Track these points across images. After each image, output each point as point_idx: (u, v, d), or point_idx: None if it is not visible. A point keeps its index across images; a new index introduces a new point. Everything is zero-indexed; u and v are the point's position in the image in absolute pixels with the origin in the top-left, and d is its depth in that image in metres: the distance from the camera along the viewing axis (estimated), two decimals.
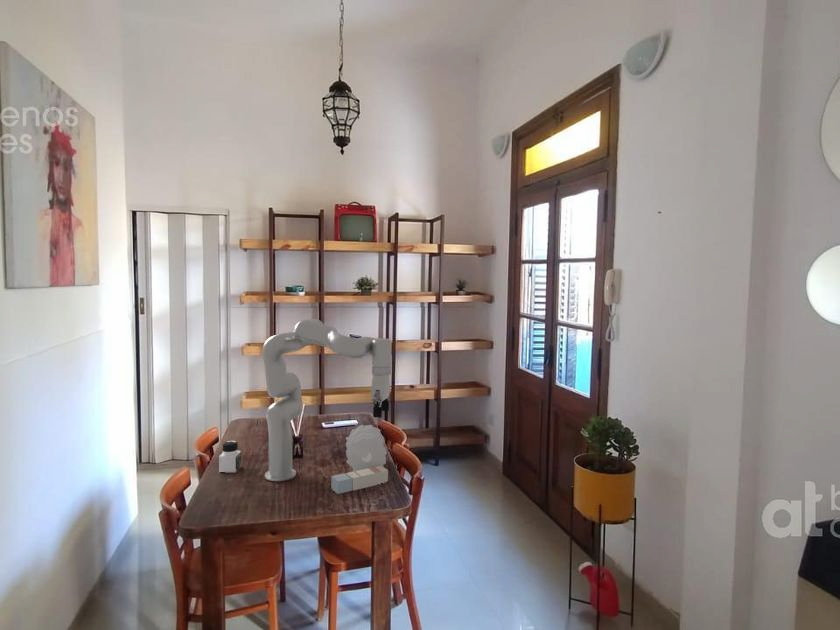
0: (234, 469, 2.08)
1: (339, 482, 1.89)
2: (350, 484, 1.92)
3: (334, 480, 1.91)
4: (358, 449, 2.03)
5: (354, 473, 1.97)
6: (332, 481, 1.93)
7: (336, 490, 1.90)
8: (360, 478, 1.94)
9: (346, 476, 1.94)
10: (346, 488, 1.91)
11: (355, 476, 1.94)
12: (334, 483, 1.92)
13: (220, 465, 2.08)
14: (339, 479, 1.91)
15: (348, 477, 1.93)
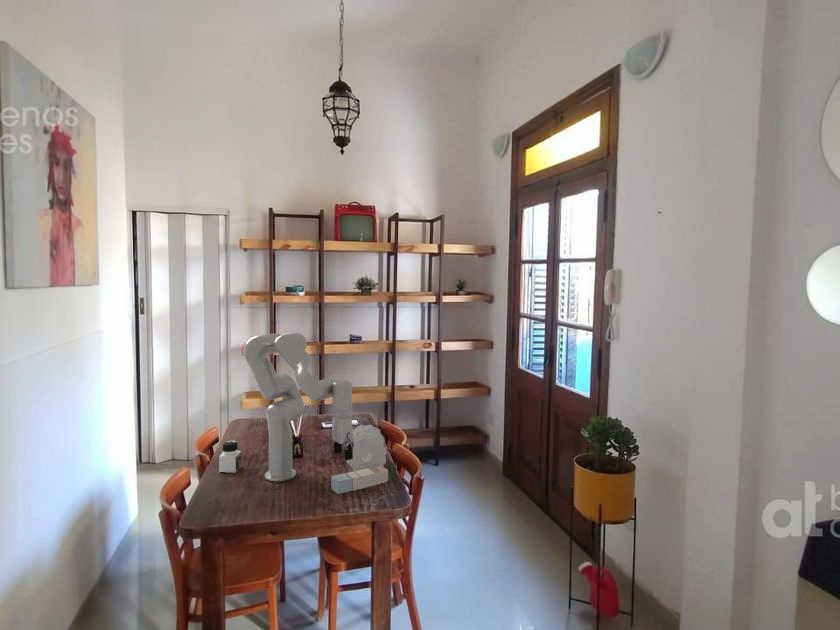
0: (234, 469, 2.08)
1: (339, 482, 1.89)
2: (350, 484, 1.92)
3: (334, 480, 1.91)
4: (358, 449, 2.03)
5: (354, 473, 1.97)
6: (332, 481, 1.93)
7: (336, 490, 1.90)
8: (360, 478, 1.94)
9: (346, 476, 1.94)
10: (346, 488, 1.91)
11: (355, 476, 1.94)
12: (334, 483, 1.92)
13: (220, 465, 2.08)
14: (339, 479, 1.91)
15: (348, 477, 1.93)
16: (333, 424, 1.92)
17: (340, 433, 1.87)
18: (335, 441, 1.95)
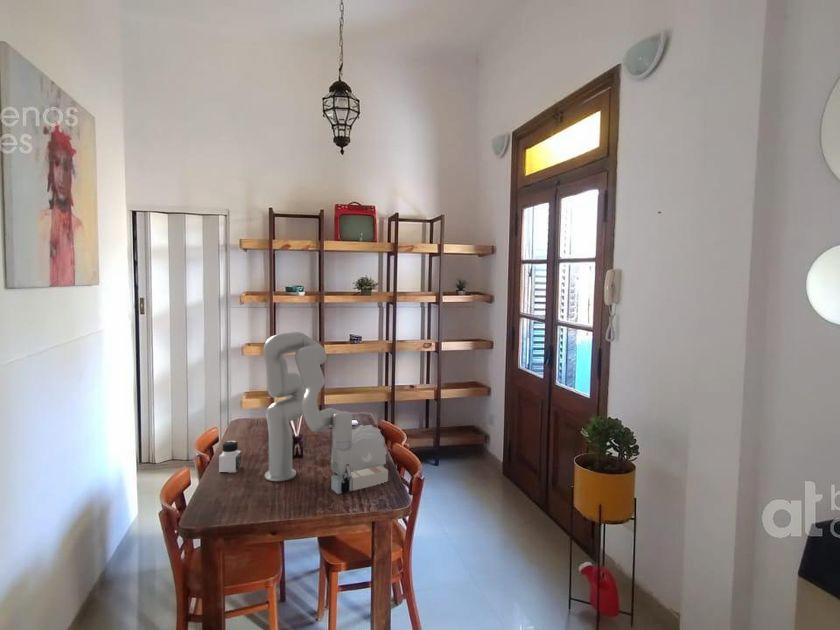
0: (234, 469, 2.08)
1: (339, 482, 1.89)
2: (350, 484, 1.92)
3: (334, 480, 1.91)
4: (358, 449, 2.03)
5: (354, 473, 1.97)
6: (332, 481, 1.93)
7: (336, 490, 1.90)
8: (360, 478, 1.94)
9: (346, 476, 1.94)
10: None
11: (355, 476, 1.94)
12: (334, 483, 1.92)
13: (220, 465, 2.08)
14: (339, 479, 1.91)
15: None
16: (332, 455, 1.93)
17: (339, 465, 1.88)
18: (335, 474, 1.95)
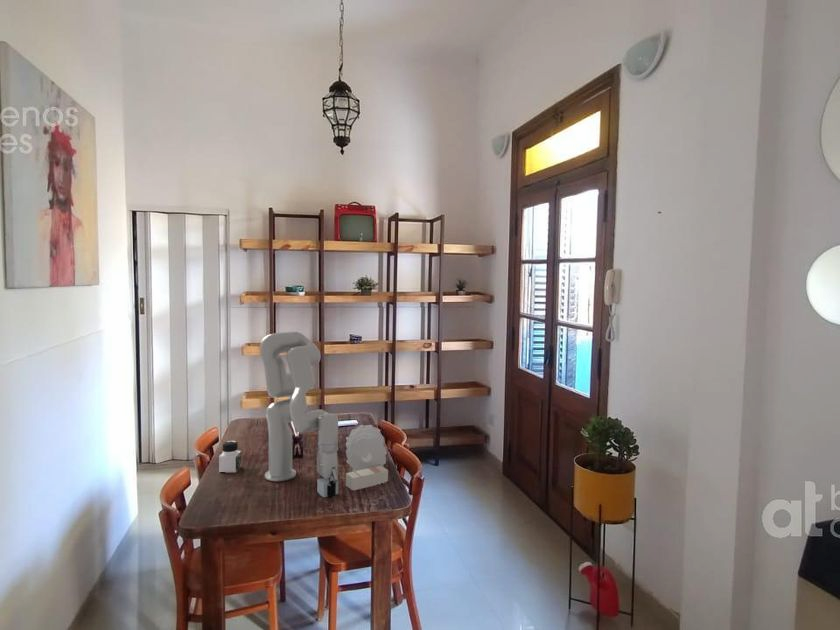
0: (234, 469, 2.08)
1: (325, 485, 1.86)
2: (336, 487, 1.89)
3: (320, 483, 1.88)
4: (358, 449, 2.03)
5: (354, 473, 1.97)
6: (317, 484, 1.90)
7: (322, 493, 1.87)
8: (360, 478, 1.94)
9: (332, 479, 1.90)
10: None
11: (355, 476, 1.94)
12: (319, 487, 1.88)
13: (220, 465, 2.08)
14: (325, 482, 1.87)
15: None
16: (318, 457, 1.90)
17: (325, 468, 1.85)
18: (321, 477, 1.92)
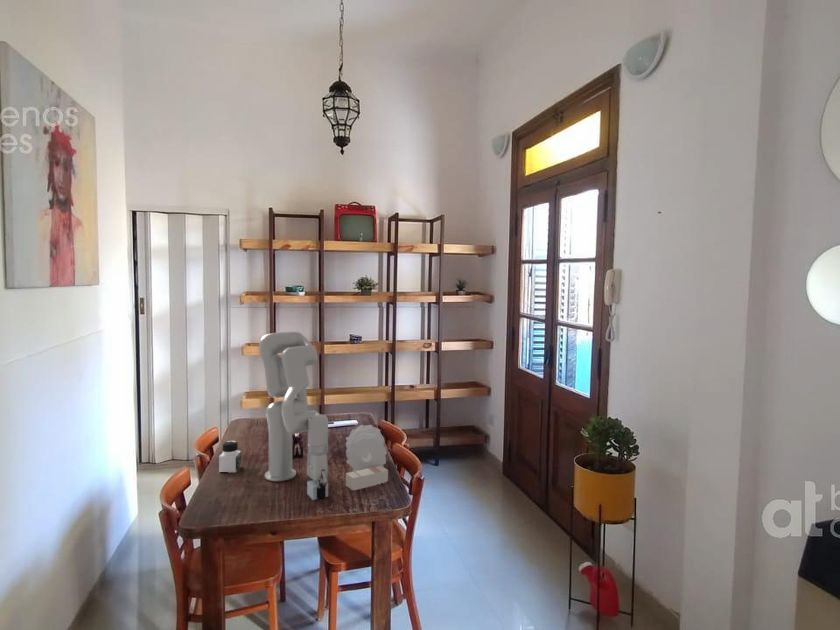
0: (234, 469, 2.08)
1: (314, 488, 1.84)
2: (326, 490, 1.86)
3: (309, 485, 1.86)
4: (358, 449, 2.03)
5: (354, 473, 1.97)
6: (307, 486, 1.88)
7: (311, 496, 1.84)
8: (360, 478, 1.94)
9: None
10: None
11: (355, 476, 1.94)
12: (309, 489, 1.86)
13: (220, 465, 2.08)
14: (315, 484, 1.85)
15: None
16: (308, 459, 1.87)
17: (314, 470, 1.82)
18: (311, 479, 1.89)
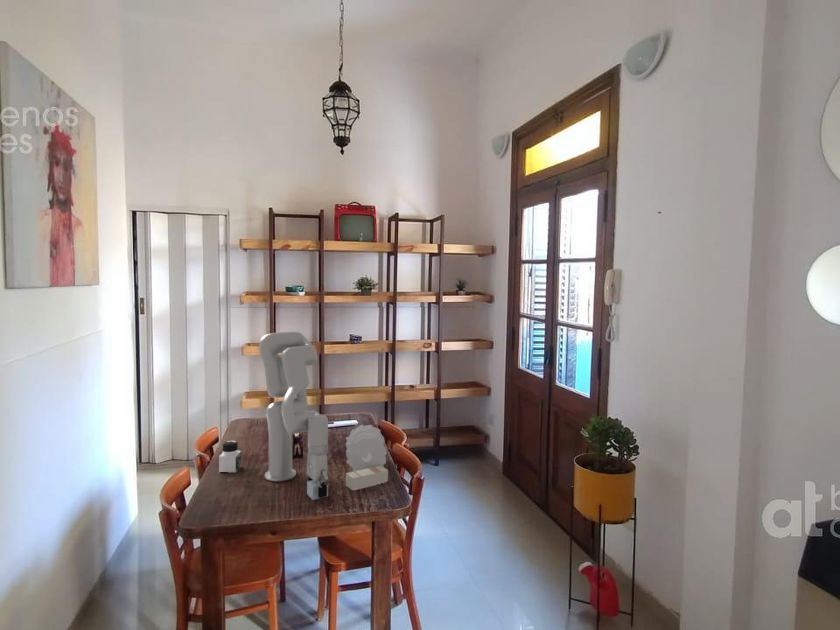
0: (234, 469, 2.08)
1: (314, 488, 1.84)
2: None
3: (309, 485, 1.86)
4: (358, 449, 2.03)
5: (354, 473, 1.97)
6: (307, 486, 1.88)
7: (311, 496, 1.84)
8: (360, 478, 1.94)
9: (322, 481, 1.88)
10: None
11: (355, 476, 1.94)
12: (309, 489, 1.86)
13: (220, 465, 2.08)
14: (315, 484, 1.85)
15: None
16: (308, 459, 1.87)
17: (314, 470, 1.82)
18: (310, 476, 1.90)
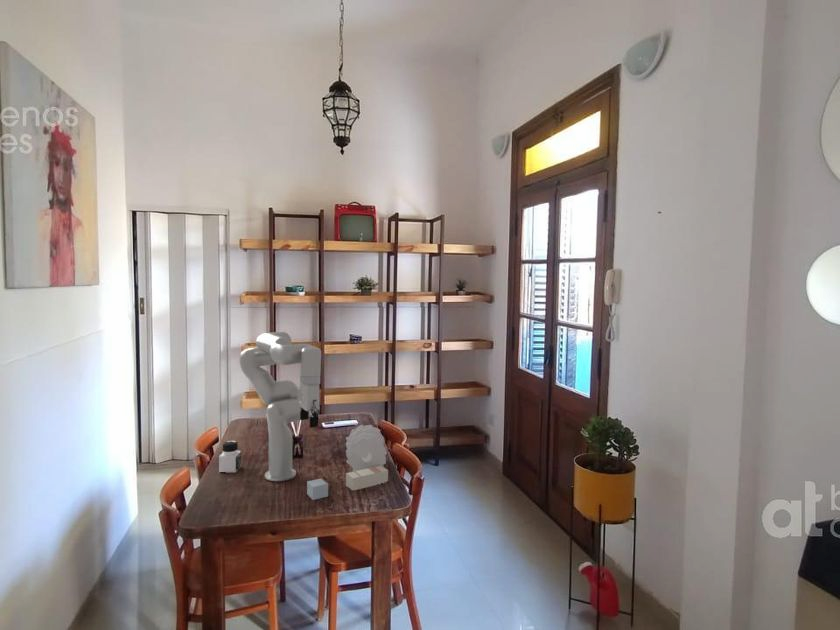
0: (234, 469, 2.08)
1: (314, 488, 1.84)
2: (326, 490, 1.86)
3: (309, 485, 1.86)
4: (358, 449, 2.03)
5: (354, 473, 1.97)
6: (307, 486, 1.88)
7: (311, 496, 1.84)
8: (360, 478, 1.94)
9: (322, 481, 1.88)
10: (322, 494, 1.85)
11: (355, 476, 1.94)
12: (309, 489, 1.86)
13: (220, 465, 2.08)
14: (315, 484, 1.85)
15: (324, 482, 1.87)
16: (300, 390, 1.89)
17: (306, 400, 1.84)
18: (302, 408, 1.92)
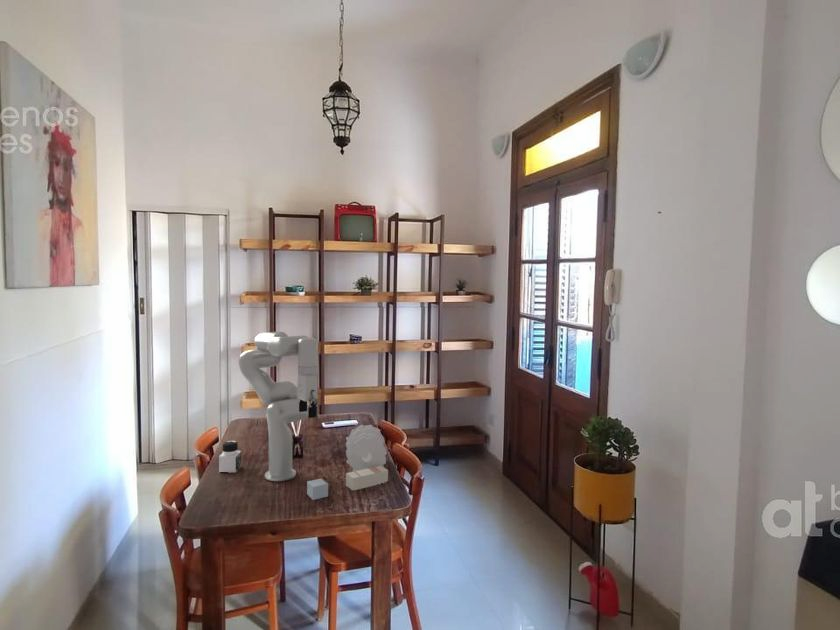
0: (234, 469, 2.08)
1: (314, 488, 1.84)
2: (326, 490, 1.86)
3: (309, 485, 1.86)
4: (358, 449, 2.03)
5: (354, 473, 1.97)
6: (307, 486, 1.88)
7: (311, 496, 1.84)
8: (360, 478, 1.94)
9: (322, 481, 1.88)
10: (322, 494, 1.85)
11: (355, 476, 1.94)
12: (309, 489, 1.86)
13: (220, 465, 2.08)
14: (315, 484, 1.85)
15: (324, 482, 1.87)
16: (298, 382, 1.90)
17: (304, 390, 1.85)
18: (300, 399, 1.93)
